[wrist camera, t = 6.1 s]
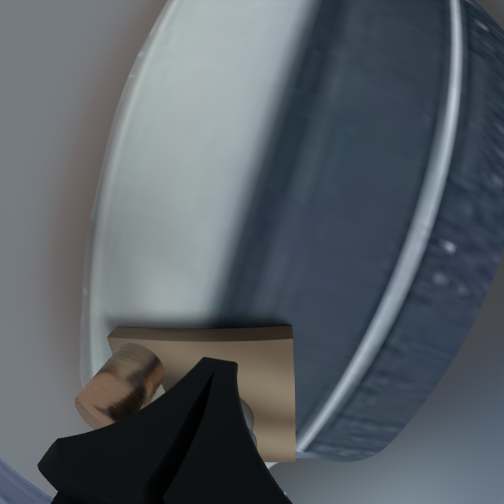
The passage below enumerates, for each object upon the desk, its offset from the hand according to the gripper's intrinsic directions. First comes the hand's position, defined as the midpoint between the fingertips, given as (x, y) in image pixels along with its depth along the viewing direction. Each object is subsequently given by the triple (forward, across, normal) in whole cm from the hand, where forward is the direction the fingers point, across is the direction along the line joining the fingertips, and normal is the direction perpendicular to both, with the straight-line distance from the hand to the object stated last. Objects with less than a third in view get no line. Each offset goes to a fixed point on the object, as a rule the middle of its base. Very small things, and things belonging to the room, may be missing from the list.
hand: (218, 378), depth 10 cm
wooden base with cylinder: (+6, +1, +8) cm, 11 cm away
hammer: (+1, +3, +4) cm, 5 cm away
